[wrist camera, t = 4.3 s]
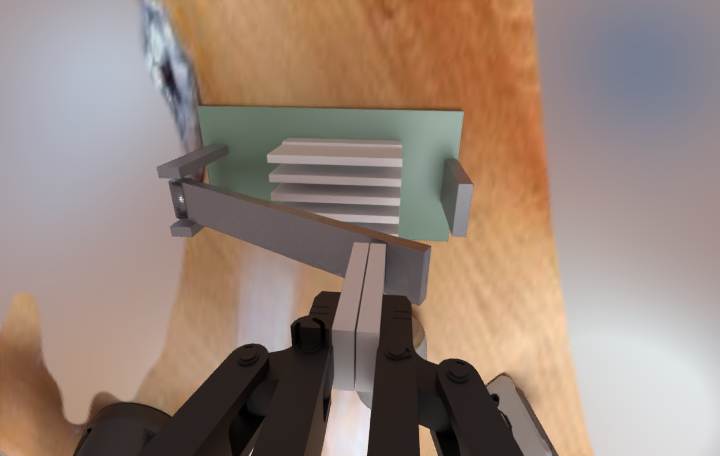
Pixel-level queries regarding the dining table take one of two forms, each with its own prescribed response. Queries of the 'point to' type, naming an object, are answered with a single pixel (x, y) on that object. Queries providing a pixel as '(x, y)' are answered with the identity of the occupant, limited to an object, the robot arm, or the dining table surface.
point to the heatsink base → (338, 165)
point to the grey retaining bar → (301, 234)
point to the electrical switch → (520, 418)
